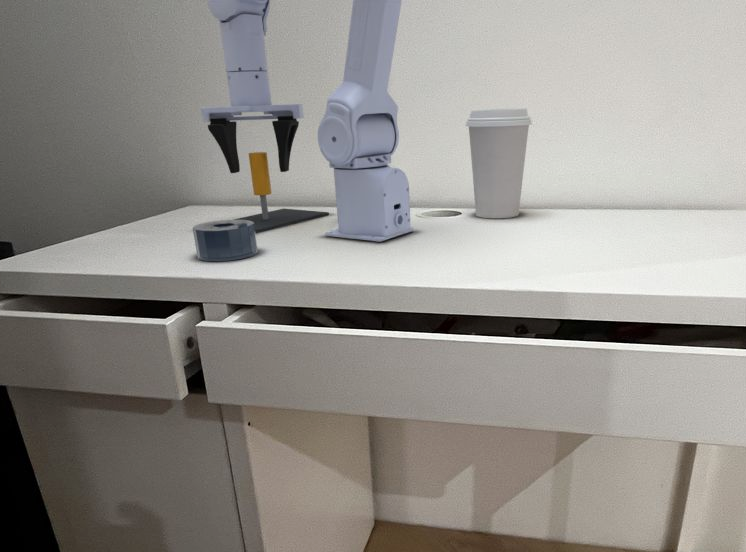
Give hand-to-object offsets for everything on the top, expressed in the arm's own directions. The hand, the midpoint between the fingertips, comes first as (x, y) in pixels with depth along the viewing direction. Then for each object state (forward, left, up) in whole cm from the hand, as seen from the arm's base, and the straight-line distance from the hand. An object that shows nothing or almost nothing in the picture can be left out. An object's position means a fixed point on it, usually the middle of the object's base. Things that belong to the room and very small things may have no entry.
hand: (259, 171), depth 93 cm
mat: (0, 0, -8) cm, 8 cm away
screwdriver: (0, 0, -7) cm, 7 cm away
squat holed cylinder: (-12, +18, -8) cm, 23 cm away
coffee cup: (-30, -19, -8) cm, 36 cm away
